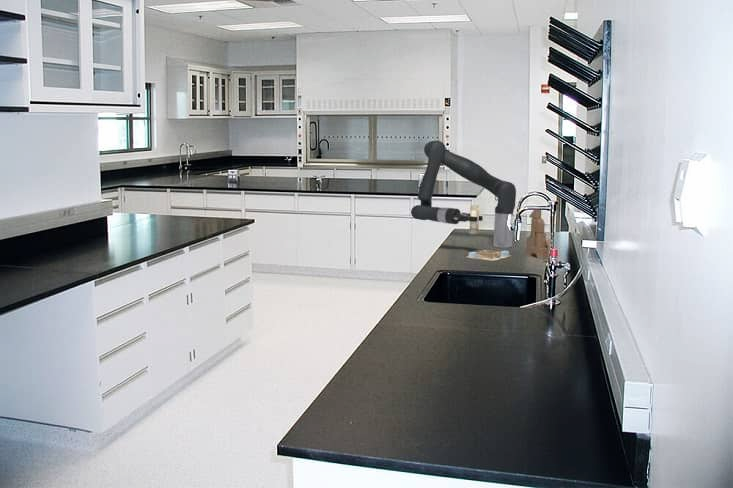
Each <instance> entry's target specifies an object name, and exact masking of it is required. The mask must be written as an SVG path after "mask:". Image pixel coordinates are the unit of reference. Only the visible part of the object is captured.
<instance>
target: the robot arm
mask: <svg viewBox="0 0 733 488" xmlns="http://www.w3.org/2000/svg"><path fill="white" fill-rule="evenodd" d="M423 152H424V154H425V156H426V157H427V158H428V161H427V166H426V168H425V172H424V174H423V177H422V179H421V181H420V184H419V189H418V194H417V199H418V200H419V201H420V204H417V205H414V206H413V207H412V208H411V209H410V214H411V216H412V218H414V219H415V220H421V221H432V222H437V223H443V224H449V225H450V224H451V225H458V224H459V223H460V222H462V223H463V222H464V223H467V222H468V223H470V221H473V222H477V217H472V216H470V212H468V213H466V212H461V210H460V209H459V208H453V207H439V206H432V205H433V204H432V203H433V202H432V198H433V194H434V189H435V185H436V182H437V178H438V174H439V170H440V168H441V165H443V166H445V167H447V168H448V169H450V170H451V171H452V172H454V173H456V174H457V175H459V176H460V177H462V178H463V179H465V180H467V181H469V182H470V183H472V184H475V185H478V186H479V187H481V188H484V189H486V190H487V191H488V192H490V193H491V194H492V195H493V196H495V197H496V198H497V205H496V206H495V207H494V223H493V247H496V248H501V249H502V248H503V249H504V248H505V249H507V248H508V249H509V248H512V246H513V234H514V233H513V232H514V230H513V231H510V230H509V228H508V226H507V220H508V215H509V214H511V215H513V216H514V210H515V207H516V199H517V188H516V185H515V184H514V183H512V182H510V181H507V180H502V179H500V178H497V177H496V176H493V175H492V174H490V173H489V172H488V171H487V170H486V169H485V168H483V167H482V165H479V164H478V163H476V162H474V161H473V160H471V159H470V158H466V157H464V156H461V155H459V154H456V153H454V152H452V151H450V150H448V149H447V148H446V144H445V143H444V142H443V141H440V140H431V141H429V142H426V144H425V145H424V147H423ZM483 220H484V219H483V216H482V215H479V222H481V221H483Z"/></svg>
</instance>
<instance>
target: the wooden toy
mask: <svg viewBox="0 0 733 488" xmlns="http://www.w3.org/2000/svg"><path fill="white" fill-rule="evenodd" d="M529 218H530V220H531V221H530V222H531V223H530V235H529V236H528V237H526V239H525V240H526V242H525V243H526V244H525V255H526V256H528V257H537V259H538V260H542V261H543V260H544V261H543V263H548V262H547V261H548V260H549V259H548V254H549V249H550V240H551V239H547V238H546V237H547V233H545V228H546V226H545V224H546V223H545V221H544V219H543V218H542V209H541V210H534V209H533V210H532V212H531V213H530V215H529Z"/></svg>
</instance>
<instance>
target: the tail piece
mask: <svg viewBox="0 0 733 488" xmlns="http://www.w3.org/2000/svg"><path fill="white" fill-rule="evenodd" d="M477 252H478V251H471V252H468V256H469V257H471V258H470V259H476V258H475V257H477ZM469 257H468V258H469Z"/></svg>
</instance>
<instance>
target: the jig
mask: <svg viewBox="0 0 733 488" xmlns="http://www.w3.org/2000/svg"><path fill="white" fill-rule="evenodd" d="M476 252H477V257H475V258H474V259H477V260H483V261H489V262H494V261H498V260H501V259H505V258H509V257H511V255H510V254H509V256H506V257H501V251H497V250H496V251H495V250H488V249H484V250H480V251H476ZM466 258H470V259H472V258H471V257H469V255H468V256H466Z"/></svg>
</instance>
